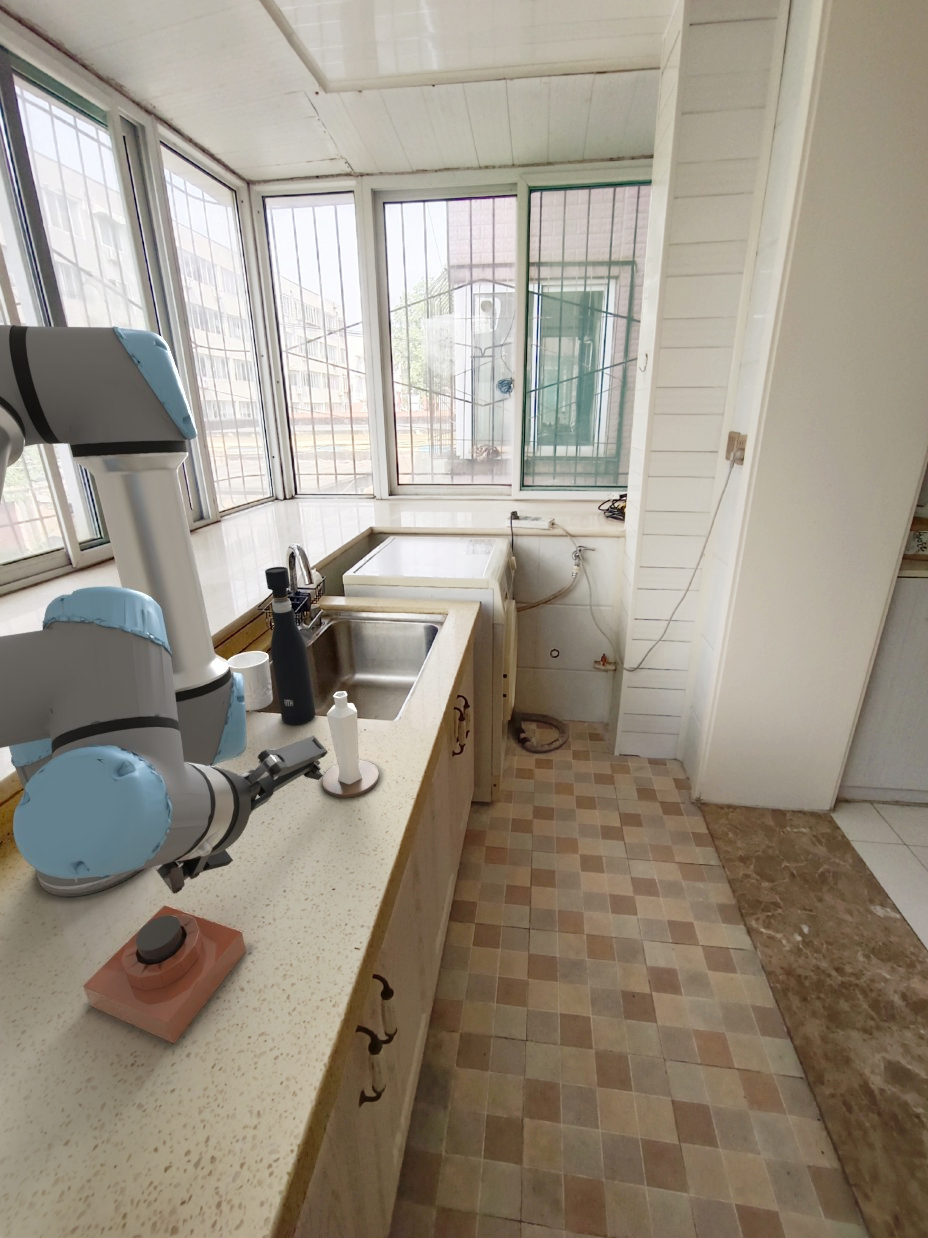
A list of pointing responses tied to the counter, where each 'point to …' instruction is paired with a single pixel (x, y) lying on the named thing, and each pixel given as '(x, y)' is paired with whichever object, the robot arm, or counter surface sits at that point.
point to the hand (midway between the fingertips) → (270, 810)
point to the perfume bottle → (345, 737)
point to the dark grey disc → (159, 939)
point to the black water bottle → (289, 654)
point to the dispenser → (167, 977)
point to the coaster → (353, 789)
